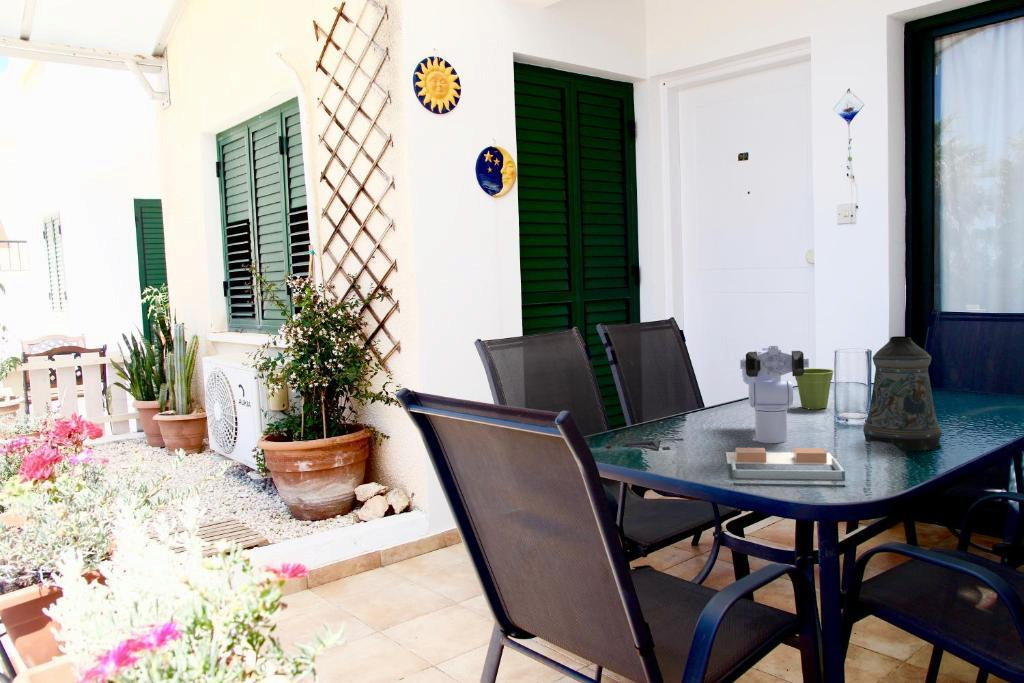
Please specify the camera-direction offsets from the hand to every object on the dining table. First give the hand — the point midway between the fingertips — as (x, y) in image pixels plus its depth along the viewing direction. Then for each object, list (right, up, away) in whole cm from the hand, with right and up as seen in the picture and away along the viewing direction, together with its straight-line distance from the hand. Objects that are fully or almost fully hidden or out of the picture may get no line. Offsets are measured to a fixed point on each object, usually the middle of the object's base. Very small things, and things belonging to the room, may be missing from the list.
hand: (777, 364), depth 171 cm
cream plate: (+1, -22, +1) cm, 22 cm away
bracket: (-21, -22, +21) cm, 37 cm away
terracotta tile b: (+6, -20, -2) cm, 21 cm away
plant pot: (+34, -15, +70) cm, 79 cm away
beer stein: (+35, -19, +18) cm, 44 cm away
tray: (-2, -23, -10) cm, 25 cm away
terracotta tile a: (-5, -20, +1) cm, 21 cm away
